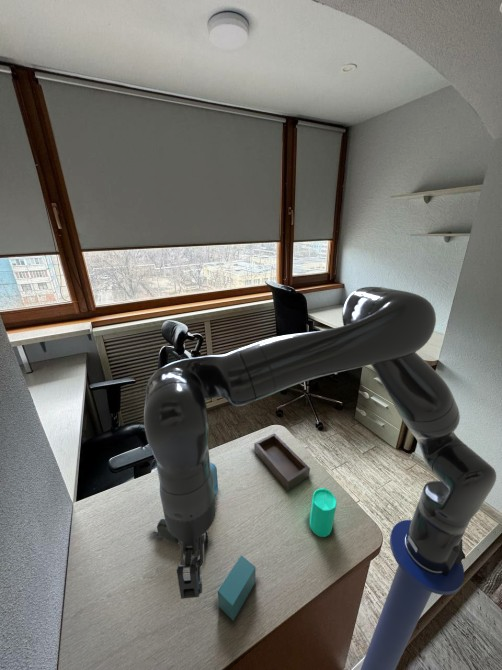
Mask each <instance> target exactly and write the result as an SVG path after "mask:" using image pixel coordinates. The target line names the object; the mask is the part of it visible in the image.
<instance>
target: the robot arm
mask: <svg viewBox="0 0 502 670" xmlns="http://www.w3.org/2000/svg"><path fill="white" fill-rule="evenodd" d="M341 318H342V324H343V325H341V326H338V327H333V328H329V329H321V330H317V331H308V332H300V333H299V332H298V333H292V334H291V333H290V334H284V335H277V336H274V337H269V338H266V339H262V340H259V341H257V342H254V343H251V344H249V345H245V346H243V347H240V348H237V349H235V350H232V351H229V352H227V353H223V354H213V355H205V356H198V357H197V356H196V357H191V358H184V359H180V360H177V361H172V362H170V363H168V364H165V365H164V366H162V367H160V368H159V369H157V370H156V371H155V372H153V374H152V375H151V376H150V377H149V379H148V380H147V383H146V386H145V393H144V407H143V426H144V431H145V437H146V440H147V443H148V446H149V448H150V451H151V453H152V455H153V458H154V459H155V466H156V470H157V476H158V480H159V495H160V500H161V505H162V511H163V515H164V519H165V521H166V526H167V529H168V530H169V532H170V533H171V534H172V535H173V536H174V537H175V538H177V539H178V543H177V544H178V547H179V564H178V565H177V568H176V576H177V583H178V589H179V596H180V599H181V600H184V599H193V598H199V597H200V595H201V594H202V593H203V582H202V579H203V576H202V566H203V565H204V562H205V549H204V542H205V537H206V536H205V534H206V531H207V532H208V530H209V529H210V528H211V527H212V525H213V524H214V520H215V519H216V514H217V506H216V505H217V504H216V495H215V493H214V482H213V475H212V471H211V468H210V462H211V461H210V460H211V459H210V450H209V429H210V428H209V416H208V406H207V403H206V400H209V399H215V398H224V399H226V401H227V402H228V403H230V404H231V405H232V406H235V407H242V406H246V405H249V404H251V403H254V402H255V401H259V400H261V399H264V398H266V397H269V396H272V395H274V394H276V393H279V392H281V391H284V390H287V389H289V388H291V387H295V386H296V385H300V384H302V383H305V382H308V381H311V380H315V379H318V378H322V377H326V376H330V375H333V374H337V373H342V372H345V371H346V372H347V371H350V370H355V369H359V368H362V367H367V366H371V367H372V368H373V370H374V372H375V374H377V377H378V379H379V382H380V383H381V384H382V386H383V388H384V390H385V391H386V393H387V395H388V397H389V398H390V400H391V402H392V404H393V405H394V408H395V409H396V412H397V413H398V415H399V416H400V418H401V420H402V421H403V423H404V425H406V427H407V429H408V430H409V432H410V433H411V435H412V436H413V437H414V438H415V439H416V441H417V443H418V446H419V449H420V452H421V455H422V457H423V460H424V462H425V464H426V466H427V467H428V468H429V469H430V471H431V472H432V474H434V475H435V476H436V478H438V480H431V481H428V482H427V483H426V484H424V486H423V487H422V491H421V493H420V497H419V499H418V502H417V505H416V507H415V510H414V514H413V516H412V519H411V520H412V521H411V524H410V527H409V530H408V532H407V534H406V537H405V540H404V544H405V548H406V551H407V553H408V555H409V556H410V558H411V559H412V560H413V562H414V563H415V564H416V565H418V566H419V567H420V568H421V569H423V570H425V571H426V572H429V573H431V574H436V575H439V574H442V575H444V576H446V577H447V576H448V574H449V572H450V570H451V568H452V566H453V564H454V562H455V563H456V564H458V565H460V563H461V562H462V563H463V560H465V559H466V554H465V553H464V551H463V536H464V534H465V532H466V530H467V528H468V527H469V524H470V523H471V520H472V519H473V517H474V516H476V514H477V513H478V512H479V511H480V509H481V508H482V507H483V504H484V502H485V501H486V499H487V497H488V496H489V494H490V492H492V490H493V488H494V486H495V484H496V481H497V472H496V469H495V468H494V467H493V466H492V465H490V463H488V462H487V461H486V460H485V459H484V458H483V457H481V455H479V454H478V453H477V452H475V451H474V450H473V449H472V448H471V447H469V446H468V445H467V444H465V442H464V441H463V440H461V438H459V437H458V436H457V435H456V433H455V431H456V430H457V428H458V426H459V424H460V419H461V415H460V410H459V406H458V404H457V402H456V400H455V397H454V395H453V392H452V391H451V388H450V387H449V385H448V384H447V383H446V381H445V380H444V378H443V377H442V376H440V374H439V373H437V371H436V370H435V369H434V368H433V367H432V366H431V365H430V364H429V363H428V362H427V361H425V360H424V359H423V357H421V356H420V355H419V354H418V353H417V352H418V351H420V350H421V349H422V348H423V347H425V345H426V344H427V343H428V342H429V341H430V339H431V337H432V336H433V334H434V331H435V327H436V325H437V324H436V323H437V314H436V311H435V308H434V306H433V304H432V303H431V302H430V301H429V300H428V299H426V298H425V297H423V296H421V295H420V294H416V293H414V292H413V293H412V292H410V291H406V290H401V289H400V290H399V289H393V288H389V287H388V288H387V287H384V286H364V287H359V288H357V289H356V290H355V291H353V292H352V293H350V294H349V296H348V297H347V299H346V300H345V302H344V304H343V308H342V317H341ZM199 549H200V550H199ZM198 552H199V555H197V553H198ZM196 555H197V556H196Z"/></svg>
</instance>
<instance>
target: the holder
mask: <svg viewBox="0 0 502 670" xmlns="http://www.w3.org/2000/svg"><path fill="white" fill-rule="evenodd" d="M253 444H254V445H253V446H254V448H253V450H254V453H256V455H257V456H258V457H259V458H260V460H261V461H262V462H263V463H264V465H266V467H267V468H268V469H269V470H270V471H271V473H272V474H273V475H274V477H276V479H277V480H278V481H279V482H280V483H281V484H282V486H283V487H284V489H286V490H287V491H289V490H291V489H292V488H294V487H296V486H297V485H298V484H300V483H302V482H303V481H305V480H306V479H308V478H309V477H310V471H311V468H310V467H309V466H308V465H307V463H306V462H304V461H303V459H301V457H300V456H299V455H297V453H295V452H294V451H293V450H292V449H291V448H290V447H289V446H288V445H287V444H286V443H285V442H284V441H283V440H282V439H281V438H280V437H279V436H278V435H277V434H276V433H275V432H274V433H272V434H270V435H267V436H266V437H263V438H261V439H259V440H258V441H255V442H253Z"/></svg>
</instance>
